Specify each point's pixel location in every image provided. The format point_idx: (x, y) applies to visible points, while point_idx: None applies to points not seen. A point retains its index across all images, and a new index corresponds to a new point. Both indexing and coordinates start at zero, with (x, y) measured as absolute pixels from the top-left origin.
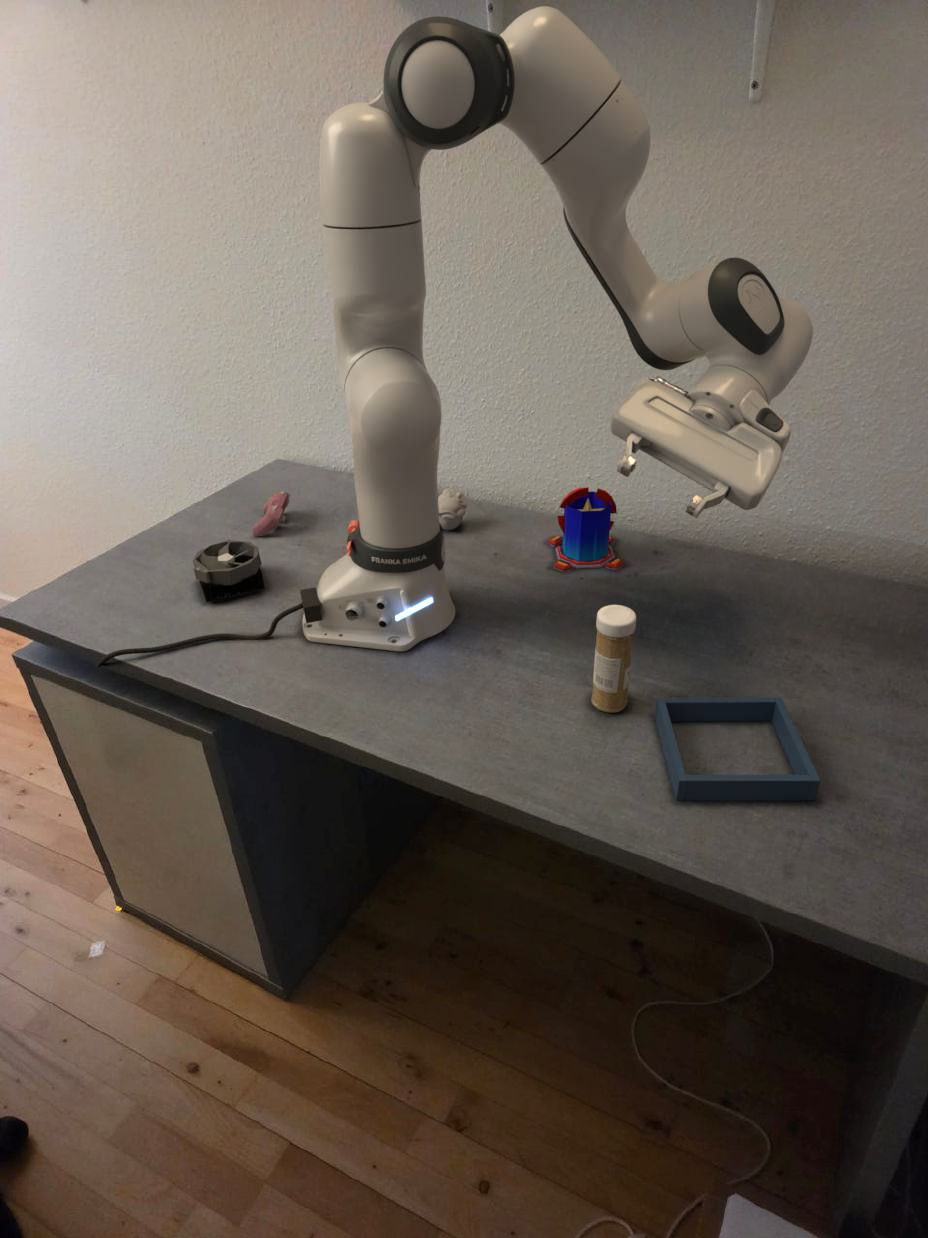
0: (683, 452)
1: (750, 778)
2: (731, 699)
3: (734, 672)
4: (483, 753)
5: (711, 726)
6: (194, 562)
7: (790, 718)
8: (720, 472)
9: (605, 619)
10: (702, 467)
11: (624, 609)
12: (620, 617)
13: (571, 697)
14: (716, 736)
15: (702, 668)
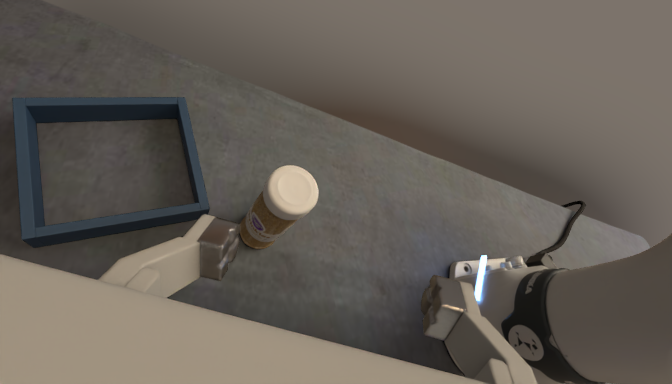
0: (318, 350)
1: (106, 100)
2: (108, 221)
3: None
4: (346, 151)
5: None
6: None
7: (20, 195)
8: (132, 300)
9: (306, 173)
10: (218, 312)
11: (286, 200)
12: (288, 181)
13: (296, 232)
14: (132, 197)
15: None
